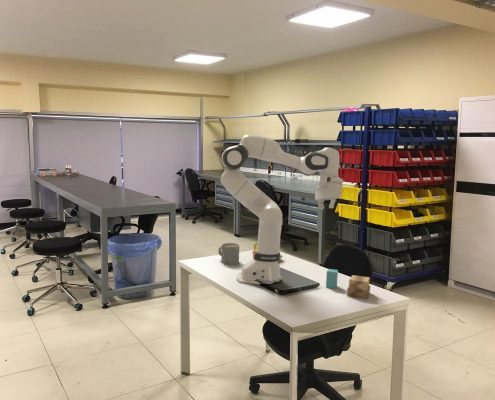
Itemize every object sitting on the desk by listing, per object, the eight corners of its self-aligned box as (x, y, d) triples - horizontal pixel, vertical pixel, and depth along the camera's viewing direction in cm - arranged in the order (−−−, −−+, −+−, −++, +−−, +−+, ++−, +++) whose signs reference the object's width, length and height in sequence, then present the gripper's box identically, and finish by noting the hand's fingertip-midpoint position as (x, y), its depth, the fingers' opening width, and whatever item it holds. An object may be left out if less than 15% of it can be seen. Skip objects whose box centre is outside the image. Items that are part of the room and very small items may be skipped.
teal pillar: (325, 287, 220) (326, 271, 219) (327, 284, 225) (328, 268, 224) (335, 288, 219) (336, 272, 218) (337, 286, 223) (337, 270, 222)
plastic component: (284, 256, 266) (272, 251, 260) (278, 268, 266) (267, 263, 260) (264, 246, 282) (253, 241, 276) (259, 257, 282) (247, 252, 276)
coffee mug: (242, 262, 259) (243, 245, 258) (228, 265, 253) (229, 247, 251) (227, 257, 269) (228, 240, 268) (214, 260, 263) (214, 243, 261)
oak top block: (348, 288, 209) (349, 279, 208) (351, 283, 216) (352, 275, 216) (366, 290, 206) (367, 282, 205) (369, 285, 213) (369, 277, 213)
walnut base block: (347, 296, 209) (347, 288, 209) (350, 290, 217) (350, 282, 217) (367, 299, 206) (367, 291, 205) (369, 293, 214) (370, 285, 214)
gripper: (313, 182, 234) (310, 208, 232) (333, 177, 214) (331, 206, 213) (324, 184, 236) (321, 210, 234) (345, 179, 216) (342, 208, 215)
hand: (326, 208), depth 223 cm, fingers open, 8 cm apart
